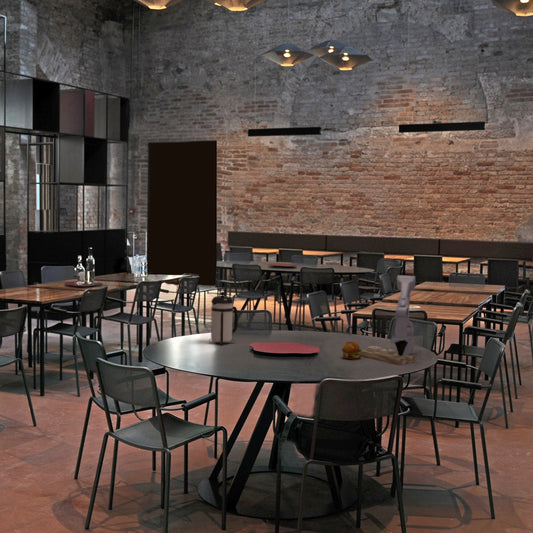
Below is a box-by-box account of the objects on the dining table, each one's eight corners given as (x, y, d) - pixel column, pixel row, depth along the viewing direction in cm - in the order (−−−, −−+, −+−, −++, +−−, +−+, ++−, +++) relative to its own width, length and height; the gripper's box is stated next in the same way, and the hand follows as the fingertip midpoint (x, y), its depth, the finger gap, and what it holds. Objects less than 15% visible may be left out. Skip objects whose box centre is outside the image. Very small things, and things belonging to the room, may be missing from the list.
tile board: (375, 352, 413) (375, 347, 413) (416, 361, 392) (416, 356, 392) (358, 355, 404) (359, 350, 404) (399, 365, 383) (399, 359, 383)
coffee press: (235, 346, 423) (236, 293, 420) (207, 345, 423) (208, 293, 421) (237, 340, 440) (238, 290, 438) (210, 339, 440) (211, 289, 438)
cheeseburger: (364, 357, 400) (364, 340, 397) (357, 365, 392) (356, 347, 389) (347, 354, 405) (346, 337, 402) (339, 362, 397) (338, 345, 394)
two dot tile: (386, 353, 402) (386, 348, 402) (395, 354, 398) (395, 349, 397) (379, 354, 398) (379, 349, 398) (387, 356, 394) (388, 351, 393)
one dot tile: (373, 350, 409) (374, 345, 409) (382, 352, 404) (382, 347, 404) (366, 351, 405) (366, 346, 405) (375, 353, 400) (375, 348, 400)
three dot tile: (399, 358, 395) (399, 353, 395) (408, 360, 391) (408, 355, 391) (392, 359, 392) (392, 354, 391) (401, 361, 387) (401, 356, 387)
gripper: (398, 331, 382) (397, 357, 383) (416, 329, 392) (415, 354, 393) (388, 329, 387) (387, 355, 389) (405, 327, 397) (404, 352, 398)
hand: (400, 354), depth 391 cm, fingers closed, pressing on three dot tile
